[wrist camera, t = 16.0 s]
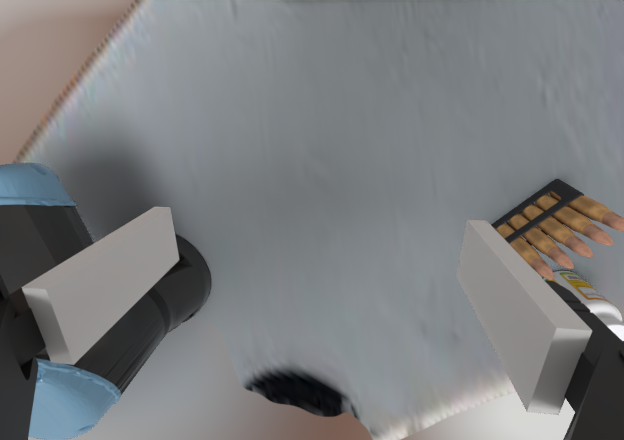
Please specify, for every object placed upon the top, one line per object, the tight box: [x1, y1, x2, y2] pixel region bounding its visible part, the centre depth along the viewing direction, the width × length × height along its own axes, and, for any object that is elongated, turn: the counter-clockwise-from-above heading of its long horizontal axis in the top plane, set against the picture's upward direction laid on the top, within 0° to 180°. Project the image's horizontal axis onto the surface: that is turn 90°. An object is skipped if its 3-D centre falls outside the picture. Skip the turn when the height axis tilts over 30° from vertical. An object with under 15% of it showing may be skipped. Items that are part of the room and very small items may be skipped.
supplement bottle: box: [543, 271, 624, 341], centre depth 38 cm, size 5×5×10 cm
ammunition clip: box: [491, 179, 624, 280], centre depth 34 cm, size 11×2×12 cm, turn 136°
